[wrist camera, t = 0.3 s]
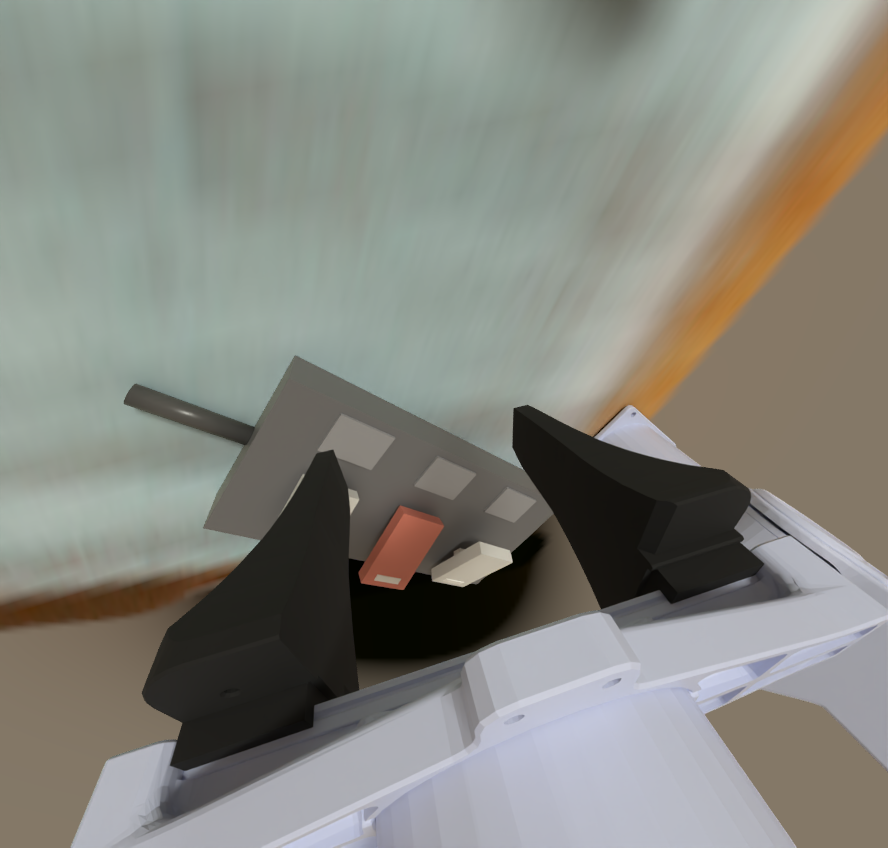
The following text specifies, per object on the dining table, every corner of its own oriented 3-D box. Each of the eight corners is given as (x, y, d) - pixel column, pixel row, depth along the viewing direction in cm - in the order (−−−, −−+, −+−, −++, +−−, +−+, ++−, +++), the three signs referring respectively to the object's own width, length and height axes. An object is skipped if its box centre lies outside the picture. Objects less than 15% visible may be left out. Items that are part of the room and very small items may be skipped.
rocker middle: (436, 513, 26) (444, 526, 24) (397, 574, 27) (403, 590, 25) (397, 500, 24) (404, 514, 23) (357, 566, 25) (361, 583, 23)
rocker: (508, 543, 28) (512, 563, 27) (460, 568, 31) (463, 587, 30) (477, 534, 26) (481, 554, 25) (430, 562, 29) (432, 581, 28)
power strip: (545, 481, 32) (563, 506, 29) (467, 557, 35) (477, 586, 33) (172, 293, 16) (141, 312, 14) (106, 465, 20) (72, 504, 18)
